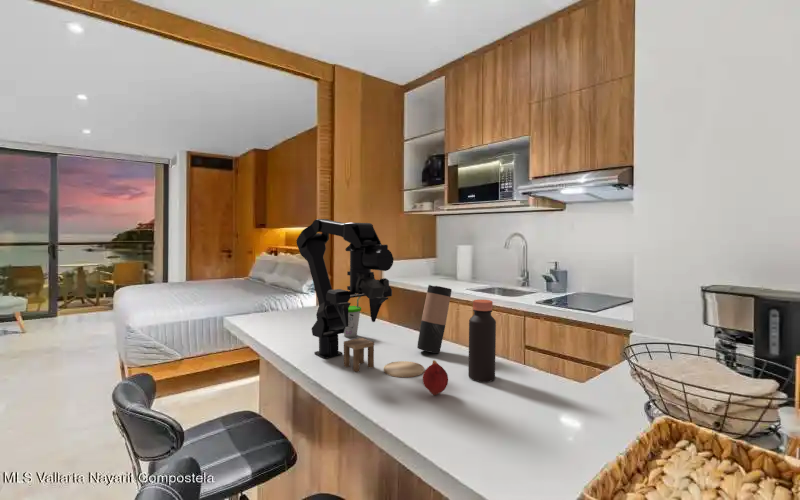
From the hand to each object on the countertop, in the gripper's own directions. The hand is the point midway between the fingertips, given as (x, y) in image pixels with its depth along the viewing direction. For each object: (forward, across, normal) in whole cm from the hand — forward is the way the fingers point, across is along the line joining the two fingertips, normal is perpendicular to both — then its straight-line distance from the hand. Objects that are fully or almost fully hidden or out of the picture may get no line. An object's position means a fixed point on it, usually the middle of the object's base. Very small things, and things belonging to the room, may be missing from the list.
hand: (360, 324), depth 109 cm
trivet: (+12, +8, -10) cm, 17 cm away
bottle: (+12, +19, -27) cm, 35 cm away
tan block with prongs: (+12, 0, 0) cm, 12 cm away
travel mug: (+11, +23, -4) cm, 26 cm away
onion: (+12, +2, -27) cm, 30 cm away
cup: (+12, +16, +29) cm, 35 cm away
